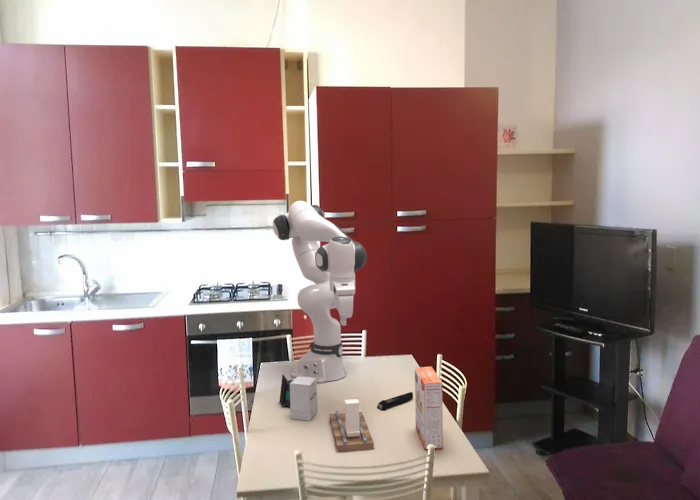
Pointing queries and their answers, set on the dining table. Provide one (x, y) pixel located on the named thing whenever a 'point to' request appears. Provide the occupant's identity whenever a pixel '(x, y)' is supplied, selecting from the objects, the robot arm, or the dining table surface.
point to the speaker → (285, 392)
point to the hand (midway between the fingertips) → (343, 324)
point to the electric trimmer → (394, 401)
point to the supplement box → (303, 398)
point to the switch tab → (352, 418)
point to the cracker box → (428, 407)
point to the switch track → (350, 443)
